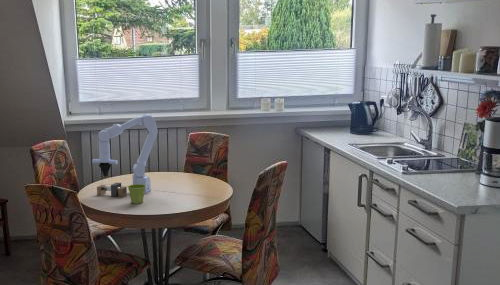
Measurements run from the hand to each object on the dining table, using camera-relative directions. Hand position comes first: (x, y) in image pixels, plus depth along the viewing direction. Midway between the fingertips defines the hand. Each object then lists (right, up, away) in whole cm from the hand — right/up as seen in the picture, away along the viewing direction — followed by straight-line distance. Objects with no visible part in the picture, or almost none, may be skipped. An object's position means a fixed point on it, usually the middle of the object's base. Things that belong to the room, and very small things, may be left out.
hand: (105, 176), depth 291 cm
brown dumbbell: (+4, -10, -1) cm, 11 cm away
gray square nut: (+6, -10, -2) cm, 12 cm away
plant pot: (+21, -13, -15) cm, 28 cm away
